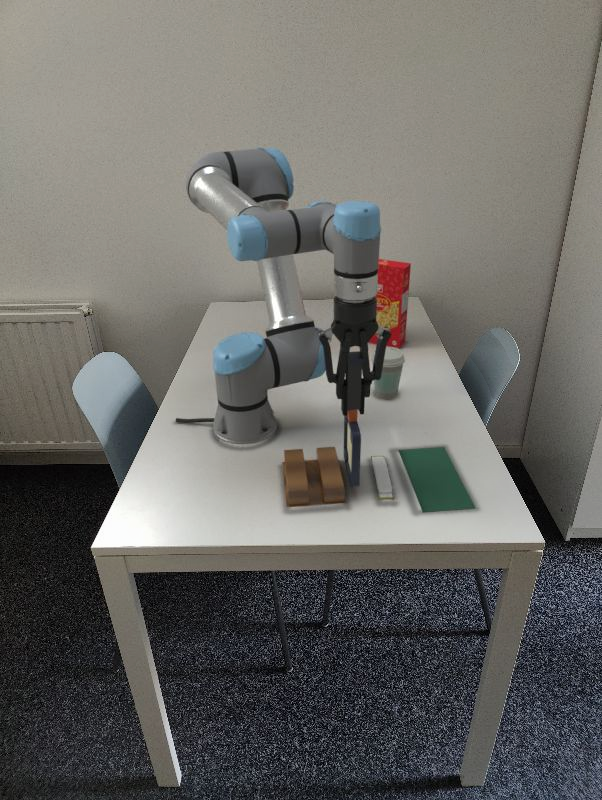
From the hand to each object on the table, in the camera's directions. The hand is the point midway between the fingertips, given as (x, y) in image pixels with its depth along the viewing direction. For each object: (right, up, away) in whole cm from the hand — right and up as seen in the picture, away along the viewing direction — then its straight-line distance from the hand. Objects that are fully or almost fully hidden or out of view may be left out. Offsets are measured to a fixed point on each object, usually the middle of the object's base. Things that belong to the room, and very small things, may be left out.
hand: (352, 411), depth 114 cm
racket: (0, -13, +7) cm, 15 cm away
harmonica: (+7, -15, +10) cm, 19 cm away
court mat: (+17, -14, +10) cm, 25 cm away
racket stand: (-8, -16, +9) cm, 19 cm away
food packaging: (+15, +21, +70) cm, 74 cm away
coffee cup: (+12, +4, +41) cm, 43 cm away
